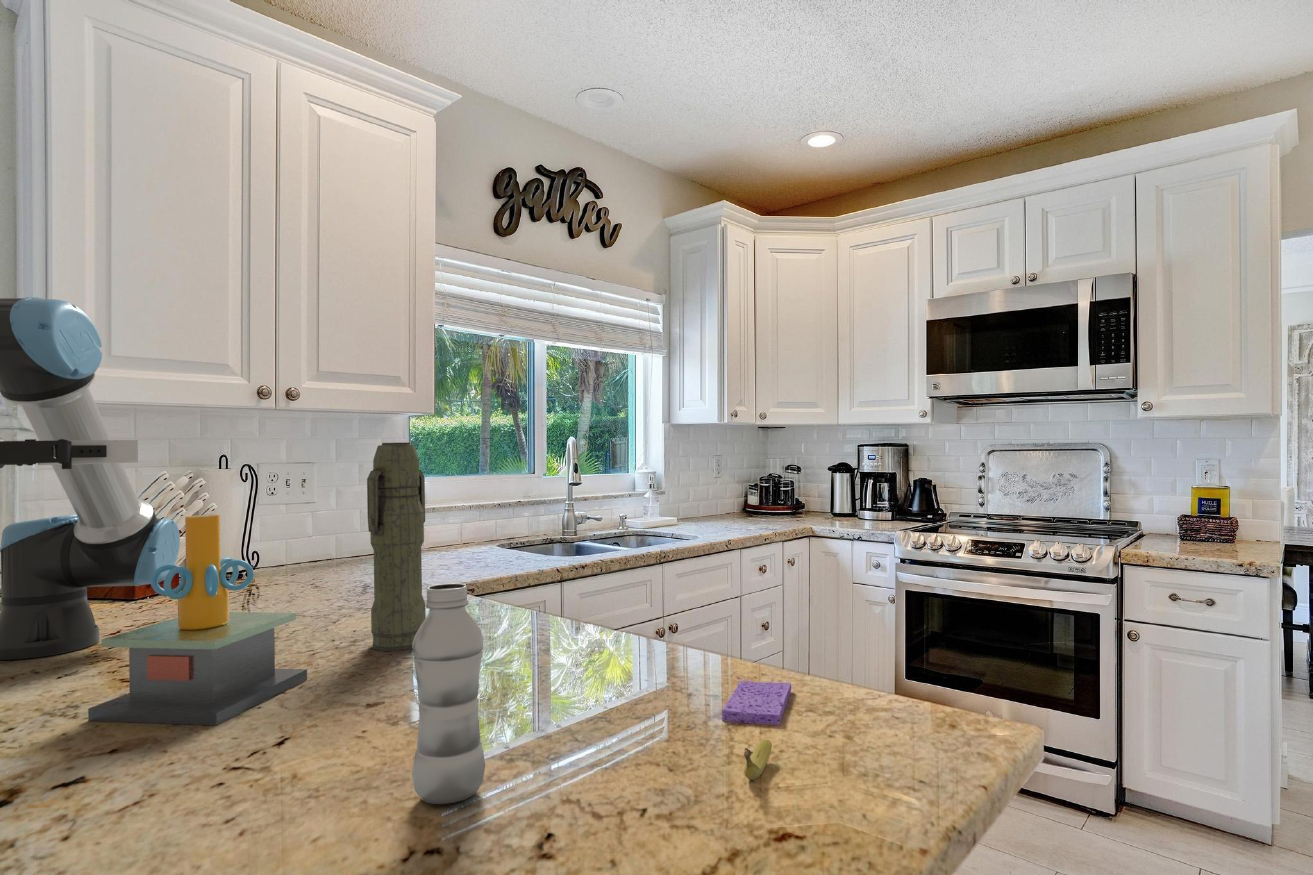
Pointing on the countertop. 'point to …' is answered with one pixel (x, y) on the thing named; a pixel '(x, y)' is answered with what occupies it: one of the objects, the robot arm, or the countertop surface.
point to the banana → (757, 759)
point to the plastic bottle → (448, 699)
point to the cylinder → (202, 576)
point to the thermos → (396, 545)
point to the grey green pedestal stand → (199, 671)
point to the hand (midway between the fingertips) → (118, 452)
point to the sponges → (757, 703)
